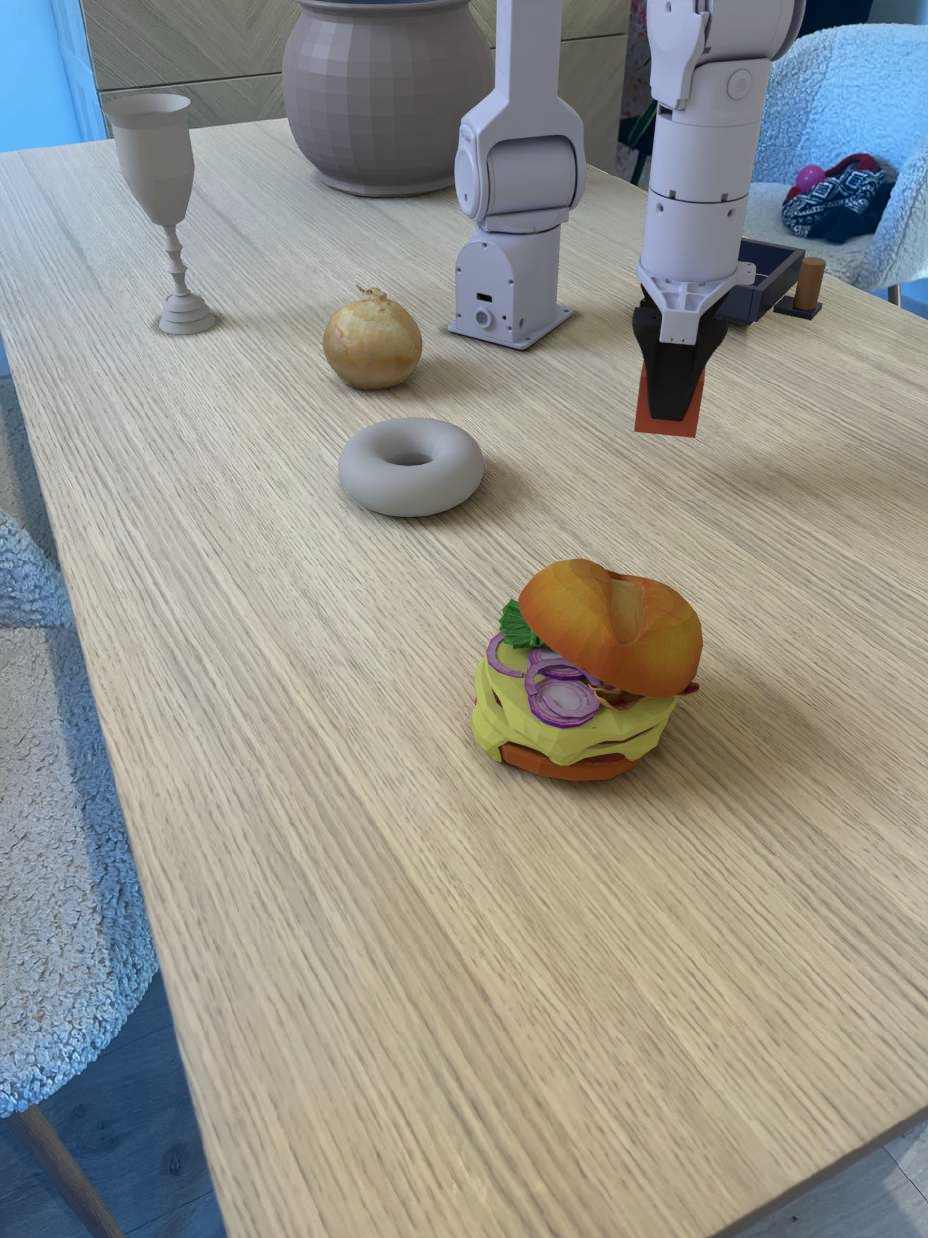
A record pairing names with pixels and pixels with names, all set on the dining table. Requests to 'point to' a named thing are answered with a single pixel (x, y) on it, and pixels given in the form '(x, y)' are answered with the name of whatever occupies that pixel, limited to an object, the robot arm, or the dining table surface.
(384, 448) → the donut
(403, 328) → the onion
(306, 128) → the grey pot
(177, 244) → the chalice
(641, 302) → the black bar
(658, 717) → the cheeseburger
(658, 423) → the block
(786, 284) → the dark navy tray
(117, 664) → the dining table surface
